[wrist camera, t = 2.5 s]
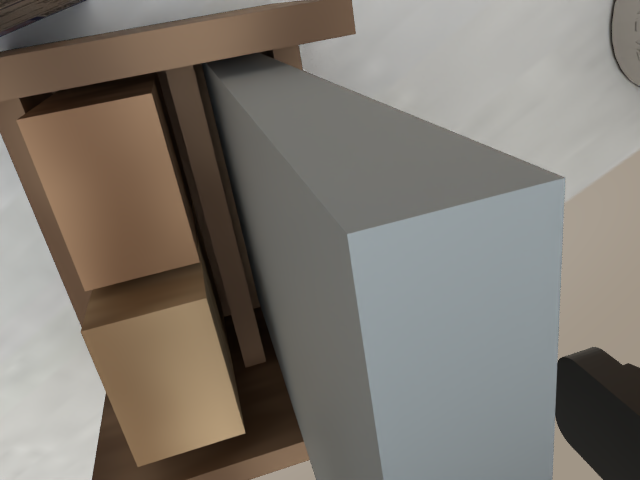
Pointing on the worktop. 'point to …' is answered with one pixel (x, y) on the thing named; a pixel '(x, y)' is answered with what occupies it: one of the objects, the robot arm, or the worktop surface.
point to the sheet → (395, 278)
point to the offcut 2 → (165, 359)
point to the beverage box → (28, 12)
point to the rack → (207, 196)
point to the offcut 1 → (114, 179)
